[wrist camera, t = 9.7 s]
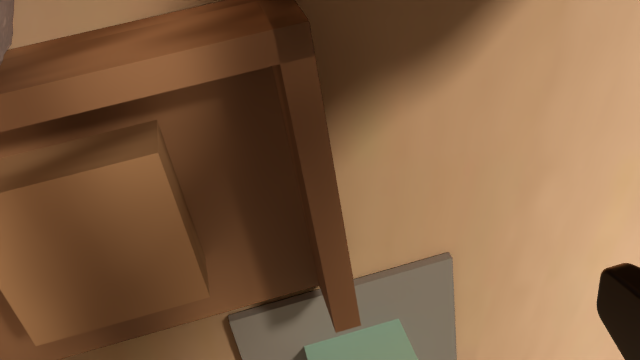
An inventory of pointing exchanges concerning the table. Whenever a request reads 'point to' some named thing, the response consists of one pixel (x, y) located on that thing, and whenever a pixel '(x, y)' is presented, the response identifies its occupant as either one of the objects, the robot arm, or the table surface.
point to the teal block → (366, 345)
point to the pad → (374, 308)
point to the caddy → (164, 178)
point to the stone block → (6, 26)
